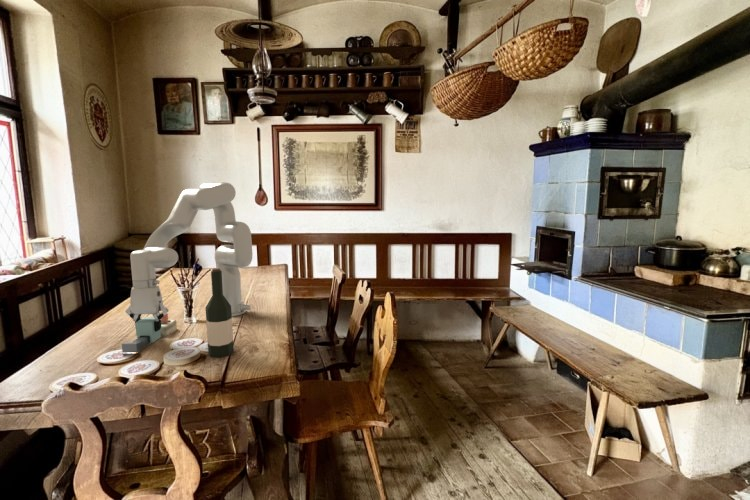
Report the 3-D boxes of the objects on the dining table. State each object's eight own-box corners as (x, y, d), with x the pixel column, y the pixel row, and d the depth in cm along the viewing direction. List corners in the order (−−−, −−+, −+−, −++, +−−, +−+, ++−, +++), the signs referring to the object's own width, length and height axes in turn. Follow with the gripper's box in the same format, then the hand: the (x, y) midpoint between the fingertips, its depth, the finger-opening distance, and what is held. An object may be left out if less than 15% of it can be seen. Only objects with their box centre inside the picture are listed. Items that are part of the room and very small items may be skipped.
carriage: (161, 336, 155) (160, 317, 154) (153, 342, 150) (151, 322, 148) (145, 336, 155) (144, 317, 154) (137, 342, 150) (135, 322, 148)
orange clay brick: (168, 321, 162) (167, 313, 161) (166, 322, 160) (165, 314, 160) (163, 321, 162) (162, 313, 161) (161, 322, 160) (160, 314, 160)
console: (176, 329, 166) (175, 318, 165) (167, 336, 158) (166, 324, 157) (152, 329, 165) (151, 318, 165) (141, 336, 158) (140, 324, 157)
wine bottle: (218, 359, 136) (213, 272, 131) (203, 354, 140) (197, 269, 136) (238, 351, 143) (234, 268, 138) (223, 346, 147) (218, 265, 143)
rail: (162, 336, 157) (161, 326, 156) (137, 354, 140) (136, 343, 139) (149, 336, 157) (148, 326, 156) (122, 354, 140) (121, 343, 139)
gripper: (173, 281, 153) (176, 327, 156) (127, 281, 153) (131, 327, 156) (163, 285, 146) (166, 333, 148) (114, 286, 145) (119, 334, 148)
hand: (148, 329), depth 152 cm, fingers closed on carriage, 6 cm apart
